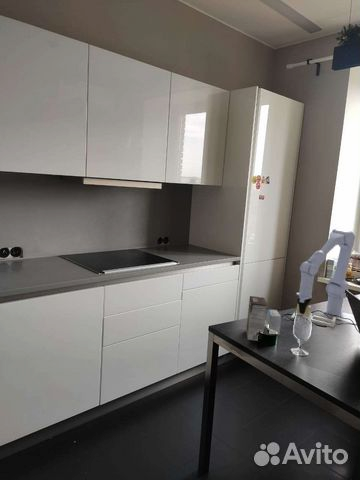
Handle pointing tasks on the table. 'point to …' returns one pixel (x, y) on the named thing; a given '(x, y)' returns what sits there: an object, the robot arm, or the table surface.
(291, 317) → the mat
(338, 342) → the table surface
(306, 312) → the tan rectangular block
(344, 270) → the robot arm
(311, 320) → the dispenser
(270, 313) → the medicine box
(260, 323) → the coffee box
